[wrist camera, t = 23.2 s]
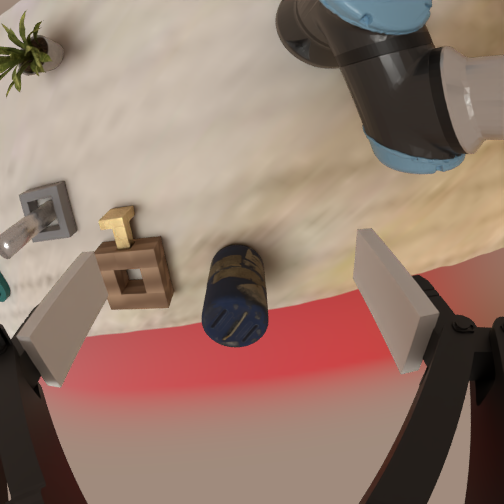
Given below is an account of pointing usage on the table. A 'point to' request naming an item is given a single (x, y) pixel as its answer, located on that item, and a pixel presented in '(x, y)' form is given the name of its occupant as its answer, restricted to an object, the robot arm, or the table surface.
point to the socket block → (142, 290)
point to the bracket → (4, 289)
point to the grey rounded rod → (26, 229)
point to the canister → (236, 298)
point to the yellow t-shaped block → (119, 225)
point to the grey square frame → (60, 206)
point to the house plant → (29, 54)
